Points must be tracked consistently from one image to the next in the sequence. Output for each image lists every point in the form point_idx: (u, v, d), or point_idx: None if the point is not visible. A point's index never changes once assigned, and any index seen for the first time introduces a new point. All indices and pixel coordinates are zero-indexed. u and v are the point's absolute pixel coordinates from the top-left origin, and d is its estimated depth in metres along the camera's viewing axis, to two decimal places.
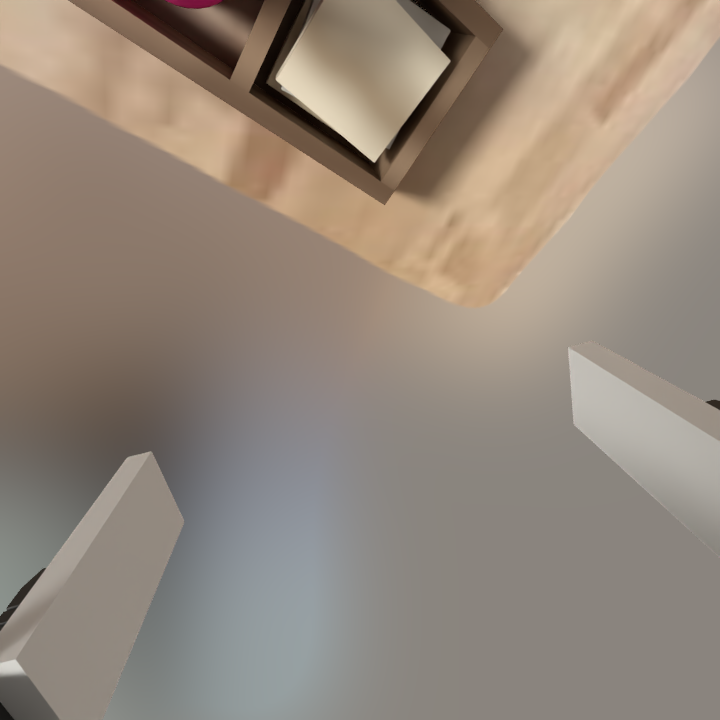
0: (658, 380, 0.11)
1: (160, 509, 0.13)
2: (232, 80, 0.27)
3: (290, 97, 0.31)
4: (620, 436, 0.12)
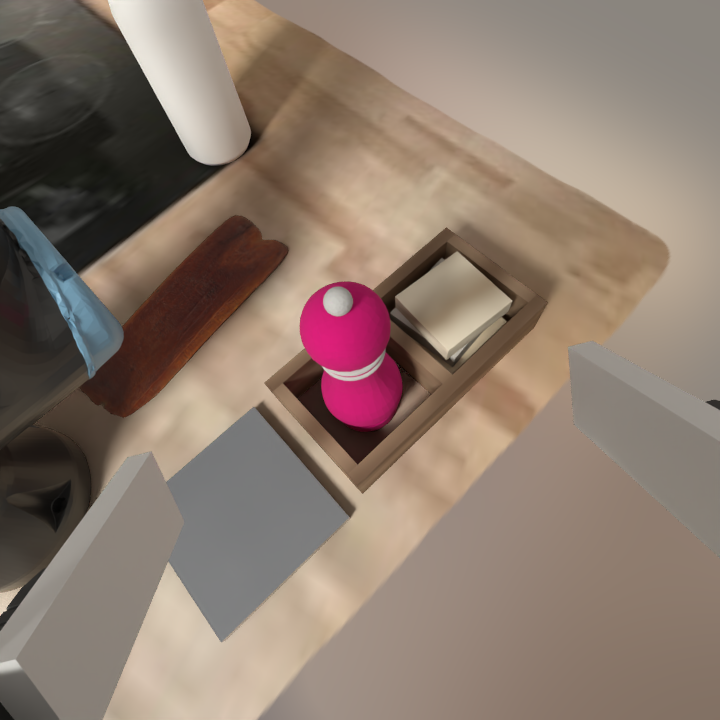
0: (658, 380, 0.11)
1: (160, 509, 0.13)
2: (443, 382, 0.39)
3: (461, 363, 0.43)
4: (620, 436, 0.12)
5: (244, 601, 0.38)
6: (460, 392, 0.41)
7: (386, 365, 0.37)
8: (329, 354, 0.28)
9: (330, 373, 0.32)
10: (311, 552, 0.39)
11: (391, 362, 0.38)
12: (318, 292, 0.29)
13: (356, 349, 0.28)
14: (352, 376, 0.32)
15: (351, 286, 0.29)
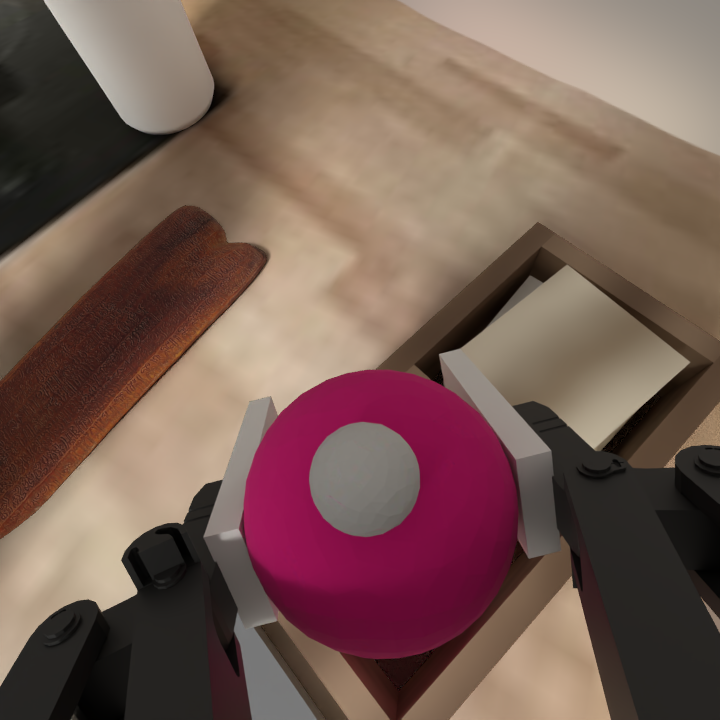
0: (487, 384, 0.13)
1: None
2: None
3: None
4: None
5: None
6: None
7: None
8: (334, 640, 0.08)
9: None
10: None
11: None
12: (298, 412, 0.09)
13: (429, 631, 0.08)
14: None
15: (404, 397, 0.09)
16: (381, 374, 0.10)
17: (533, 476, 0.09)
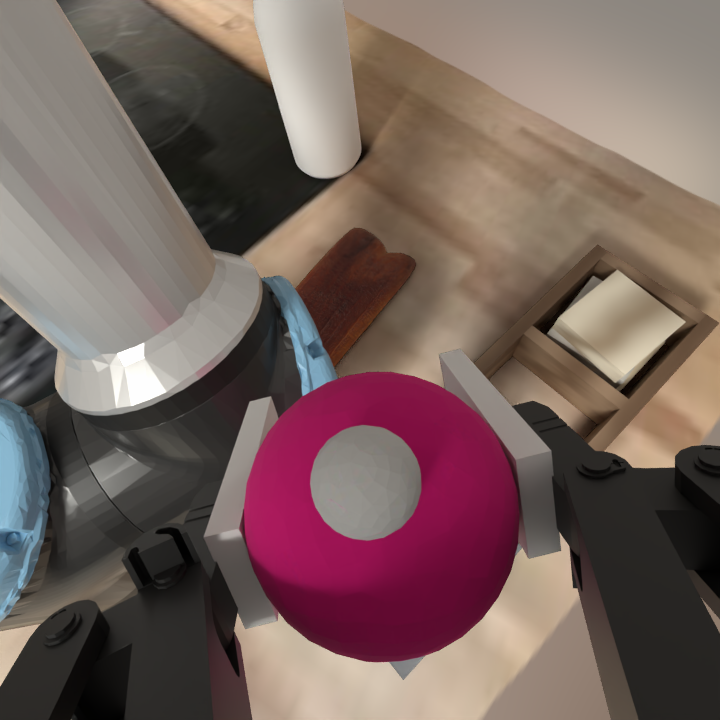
0: (487, 384, 0.13)
1: None
2: (620, 407, 0.38)
3: (623, 385, 0.42)
4: None
5: None
6: None
7: None
8: (334, 644, 0.08)
9: None
10: None
11: None
12: (299, 415, 0.09)
13: (430, 635, 0.08)
14: None
15: (405, 400, 0.09)
16: (382, 376, 0.10)
17: (533, 476, 0.09)
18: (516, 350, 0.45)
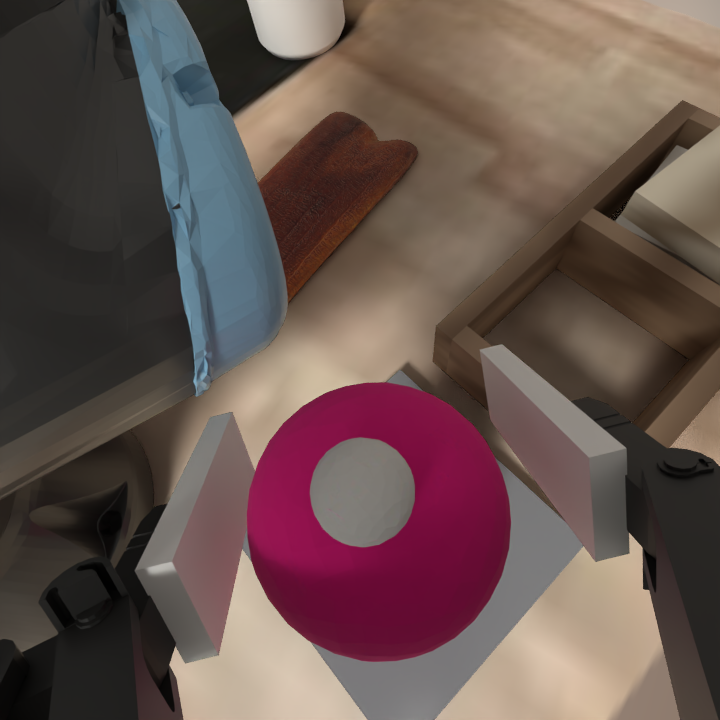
0: (539, 380, 0.12)
1: (242, 463, 0.15)
2: None
3: None
4: (515, 430, 0.13)
5: (428, 686, 0.22)
6: None
7: None
8: (333, 644, 0.09)
9: None
10: (532, 601, 0.23)
11: None
12: (299, 425, 0.10)
13: (424, 636, 0.08)
14: None
15: (401, 411, 0.09)
16: (379, 387, 0.10)
17: (606, 475, 0.09)
18: (564, 255, 0.31)
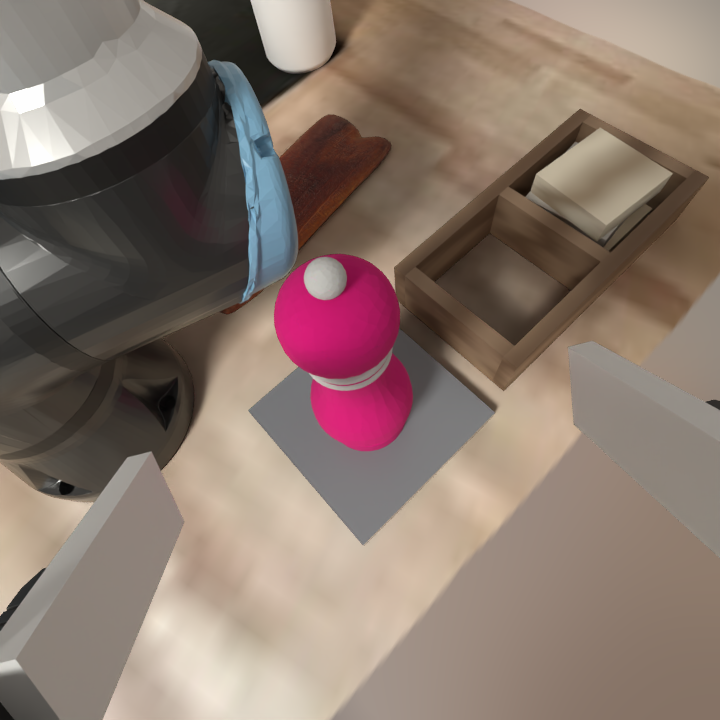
0: (658, 380, 0.11)
1: (160, 509, 0.13)
2: (601, 260, 0.35)
3: None
4: (620, 436, 0.12)
5: (384, 501, 0.33)
6: (612, 278, 0.37)
7: (392, 369, 0.29)
8: (313, 354, 0.20)
9: (318, 380, 0.24)
10: (456, 449, 0.34)
11: (399, 365, 0.30)
12: (299, 268, 0.21)
13: (352, 347, 0.19)
14: (347, 384, 0.23)
15: (346, 259, 0.20)
16: (337, 254, 0.21)
17: None
18: (493, 222, 0.42)
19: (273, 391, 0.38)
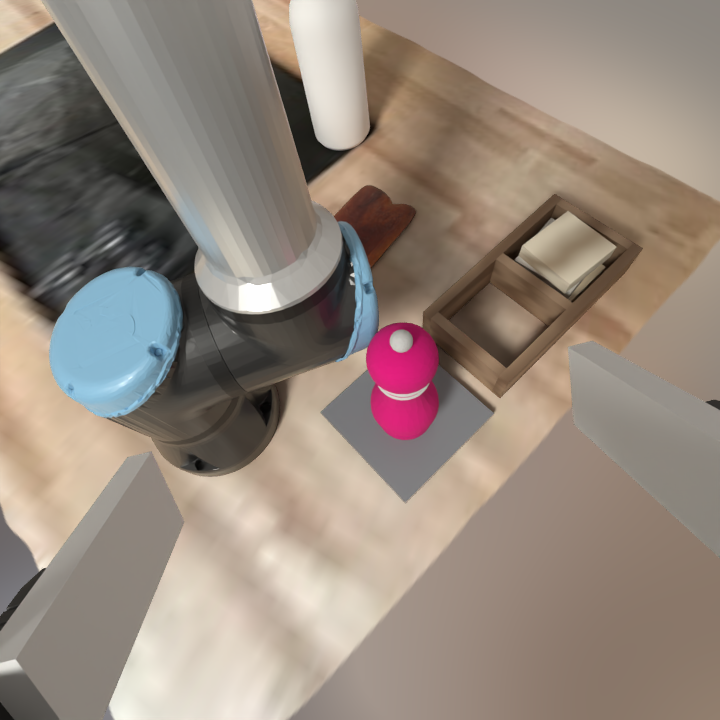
0: (658, 380, 0.11)
1: (160, 509, 0.13)
2: (566, 308, 0.51)
3: (572, 298, 0.55)
4: (620, 436, 0.12)
5: (419, 474, 0.49)
6: (575, 319, 0.53)
7: (427, 385, 0.45)
8: (393, 381, 0.36)
9: (387, 394, 0.40)
10: (467, 438, 0.50)
11: (430, 382, 0.46)
12: (382, 331, 0.37)
13: (415, 377, 0.35)
14: (405, 397, 0.39)
15: (409, 327, 0.36)
16: (403, 323, 0.37)
17: None
18: (492, 276, 0.58)
19: (337, 398, 0.54)
